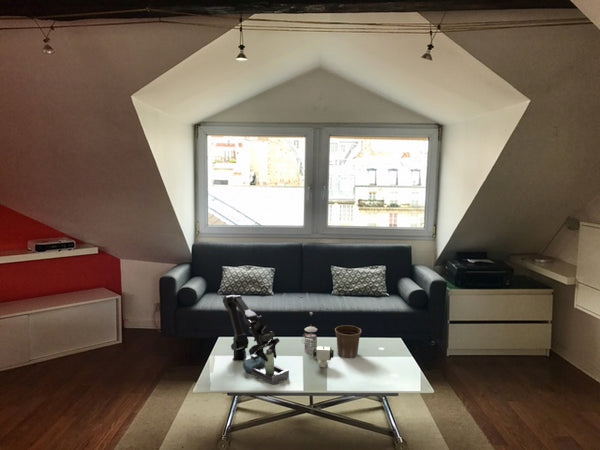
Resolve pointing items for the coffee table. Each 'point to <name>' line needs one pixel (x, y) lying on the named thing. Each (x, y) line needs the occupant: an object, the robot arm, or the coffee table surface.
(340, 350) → the plant pot
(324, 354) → the pneumatic valve
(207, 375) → the coffee table surface
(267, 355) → the pale green bottle
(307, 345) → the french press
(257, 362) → the grey tray with cylinder
